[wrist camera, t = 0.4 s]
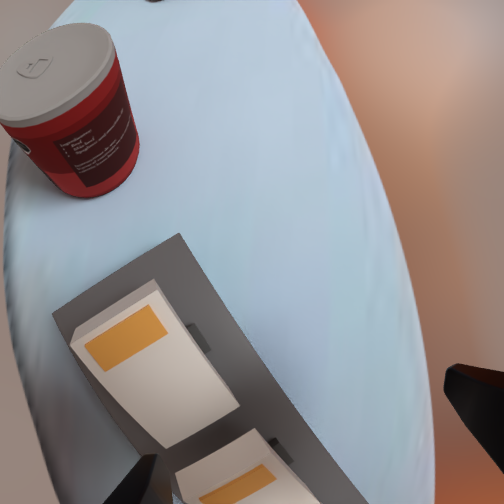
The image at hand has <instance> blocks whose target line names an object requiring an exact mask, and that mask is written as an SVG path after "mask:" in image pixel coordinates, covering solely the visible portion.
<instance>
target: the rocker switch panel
mask: <svg viewBox="0 0 504 504" xmlns="http://www.w3.org/2000/svg"><path fill="white" fill-rule="evenodd" d="M152 279H155V281H156V283H157V284H158V286H159V287H160V289H161V291H162V292H163V294H164V295H165V297H166V298H167V300H168V302H169V303H170V305H171V306H172V308H173V309H174V311H175V312H176V314H177V315H178V317H179V318H180V320H181V321H182V323H183V324H184V326H185V327H186V329H187V330H188V331H189V333H190V334H191V336H192V337H193V339H194V340H195V342H196V343H197V344H198V346H199V347H200V349H201V350H202V352H203V353H204V354H205V356H206V357H207V359H208V360H209V361H210V363H211V364H212V365H213V367H214V368H215V370H216V371H217V372H218V374H219V375H220V376H221V378H222V379H223V380H224V382H225V383H226V384H227V386H228V387H229V389H230V390H231V392H232V394H233V395H234V397H235V398H236V400H237V402H238V403H239V405H240V406H239V407H238V408H236V409H235V410H233V411H231V412H230V413H228V414H227V415H225V416H223V417H222V418H220V419H218V420H217V421H215V422H213V423H212V424H210V425H208V426H206V427H205V428H203V429H201V430H200V431H198V432H196V433H194V434H193V435H191V436H189V437H187V438H185V439H184V440H182V441H180V442H178V443H176V444H174V445H173V446H171V447H169V448H167V449H165V448H164V447H163V446H162V445H161V444H160V443H159V442H158V441H157V440H156V439H154V438H153V437H152V436H151V435H150V434H149V433H148V432H147V431H146V430H145V429H144V428H143V427H142V426H141V425H140V424H139V423H138V422H137V421H136V420H135V419H134V418H133V417H132V416H131V415H130V414H129V413H128V412H127V411H126V410H125V409H124V408H123V407H122V406H121V405H120V404H119V403H118V402H117V401H116V400H115V398H114V397H113V396H112V395H111V394H110V393H109V392H108V391H107V390H106V389H105V387H104V386H103V385H102V384H101V383H100V382H99V381H98V379H97V378H96V377H95V376H94V375H93V374H92V372H91V371H90V370H89V369H88V368H87V366H86V365H85V364H84V363H83V362H82V360H81V359H80V358H79V357H78V355H77V354H76V353H75V351H74V350H73V349H72V348H71V346H70V343H71V340H72V337H73V334H74V331H75V329H76V328H77V327H78V326H80V325H81V324H83V323H85V322H86V321H88V320H89V319H91V318H92V317H94V316H95V315H97V314H99V313H100V312H102V311H103V310H105V309H106V308H108V307H109V306H111V305H113V304H114V303H116V302H117V301H119V300H120V299H122V298H124V297H125V296H127V295H128V294H130V293H132V292H133V291H135V290H136V289H138V288H140V287H141V286H143V285H144V284H146V283H148V282H149V281H151V280H152ZM52 315H53V317H54V320H55V322H56V324H57V326H58V328H59V330H60V332H61V333H62V335H63V337H64V339H65V341H66V343H67V345H68V347H69V349H70V350H71V352H72V354H73V356H74V358H75V359H76V361H77V363H78V365H79V366H80V368H81V370H82V371H83V373H84V375H85V377H86V378H87V380H88V381H89V383H90V385H91V386H92V388H93V389H94V391H95V393H96V394H97V396H98V397H99V399H100V400H101V402H102V403H103V405H104V406H105V408H106V409H107V411H108V412H109V414H110V415H111V416H112V418H113V419H114V421H115V422H116V424H117V425H118V426H119V428H120V429H121V430H122V432H123V433H124V434H125V436H126V437H127V438H128V440H129V441H130V442H131V444H132V445H133V446H134V448H135V449H136V450H137V451H138V453H139V454H140V455H141V456H143V455H144V454H146V453H158V454H159V455H160V456H161V458H162V460H163V461H164V463H165V465H166V466H167V468H168V470H169V473H170V479H171V490H172V492H173V493H174V494H175V495H176V496H177V497H178V498H179V499H180V500H181V501H182V502H183V503H184V504H188V503H186V502H184V501H183V498H182V495H181V492H180V489H179V485H178V482H177V479H176V475H175V473H176V472H178V471H180V470H182V469H184V468H186V467H188V466H190V465H192V464H194V463H195V462H197V461H199V460H201V459H203V458H205V457H207V456H208V455H210V454H212V453H214V452H215V451H217V450H219V449H221V448H222V447H224V446H226V445H228V444H229V443H231V442H233V441H234V440H236V439H238V438H239V437H241V436H243V435H244V434H246V433H247V432H249V431H251V430H252V429H254V428H255V429H256V430H257V431H258V432H259V434H260V435H261V436H262V437H263V438H264V439H265V441H266V442H267V443H268V444H269V445H270V446H271V448H272V449H273V450H274V451H275V452H276V453H277V454H278V455H279V457H280V458H281V459H282V460H283V461H284V462H285V463H286V464H287V465H288V466H289V468H290V469H291V470H292V471H293V472H294V473H295V474H296V475H297V476H298V477H299V478H300V479H301V480H302V481H303V482H304V483H305V485H306V486H307V487H308V488H309V490H310V491H311V492H312V493H313V495H314V496H315V497H316V499H317V500H318V501H319V502H322V504H369V503H368V502H367V501H366V500H365V498H364V497H363V496H362V495H361V494H360V492H359V491H358V490H357V489H356V487H355V486H354V485H353V484H352V482H351V481H350V480H349V478H348V477H347V476H346V475H345V473H344V472H343V471H342V470H341V468H340V467H339V466H338V464H337V463H336V462H335V460H334V459H333V458H332V457H331V455H330V454H329V453H328V451H327V450H326V449H325V447H324V446H323V445H322V443H321V442H320V441H319V439H318V438H317V437H316V435H315V434H314V433H313V431H312V430H311V429H310V427H309V426H308V425H307V423H306V422H305V421H304V419H303V418H302V416H301V415H300V414H299V412H298V411H297V410H296V408H295V407H294V405H293V404H292V403H291V401H290V400H289V398H288V397H287V396H286V394H285V393H284V391H283V390H282V389H281V387H280V386H279V384H278V383H277V381H276V380H275V379H274V377H273V376H272V374H271V373H270V371H269V370H268V369H267V367H266V366H265V364H264V363H263V361H262V360H261V358H260V357H259V355H258V354H257V353H256V351H255V350H254V348H253V347H252V345H251V344H250V342H249V341H248V339H247V338H246V336H245V335H244V333H243V332H242V330H241V329H240V327H239V326H238V324H237V323H236V321H235V320H234V318H233V317H232V315H231V314H230V312H229V311H228V309H227V308H226V306H225V304H224V303H223V301H222V300H221V298H220V297H219V295H218V294H217V292H216V291H215V289H214V287H213V286H212V284H211V283H210V281H209V280H208V278H207V276H206V275H205V273H204V272H203V270H202V268H201V267H200V265H199V264H198V262H197V260H196V259H195V257H194V256H193V254H192V252H191V251H190V249H189V248H188V246H187V244H186V243H185V241H184V239H183V238H182V236H181V234H180V233H178V234H176V235H174V236H172V237H171V238H169V239H167V240H166V241H164V242H163V243H161V244H159V245H158V246H156V247H154V248H153V249H151V250H149V251H148V252H146V253H144V254H143V255H141V256H140V257H138V258H136V259H135V260H133V261H132V262H130V263H128V264H127V265H125V266H124V267H122V268H120V269H119V270H117V271H116V272H114V273H113V274H111V275H109V276H108V277H106V278H105V279H103V280H102V281H100V282H99V283H97V284H96V285H94V286H92V287H91V288H89V289H88V290H86V291H85V292H83V293H82V294H80V295H79V296H77V297H76V298H74V299H73V300H71V301H70V302H68V303H67V304H65V305H64V306H62V307H61V308H59V309H58V310H56V311H55V312H54V313H52Z"/></svg>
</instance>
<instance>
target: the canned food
mask: <svg viewBox="0 0 504 504" xmlns="http://www.w3.org/2000/svg"><path fill="white" fill-rule="evenodd" d="M0 124H1V125H2V126H3V128H4V129H5V130H6V132H7V133H8V134H9V135H10V136H11V137H12V139H13V140H14V141H15V142H16V143H17V144H18V145H19V147H20V148H21V149H22V150H23V151H24V152H25V153H26V154H27V155H28V157H29V158H30V159H31V160H32V161H33V162H34V163H35V164H36V165H37V166H38V167H39V168H40V170H41V171H42V172H43V173H44V174H45V175H46V176H47V177H48V178H49V179H50V180H51V181H52V182H53V183H54V184H55V185H56V186H57V187H58V188H59V189H60V190H62V191H63V192H65V193H67V194H70V195H73V196H77V197H83V198H89V197H96V196H100V195H103V194H106V193H108V192H110V191H112V190H113V189H115V188H117V187H118V186H119V185H120V184H122V183H123V182H124V181H125V180H126V179H127V177H128V176H129V175H130V174H131V172H132V170H133V168H134V166H135V164H136V161H137V158H138V154H139V145H140V143H139V136H138V133H137V129H136V126H135V122H134V118H133V115H132V111H131V107H130V104H129V100H128V96H127V92H126V88H125V84H124V80H123V76H122V72H121V68H120V64H119V60H118V57H117V53H116V49H115V46H114V43H113V41H112V39H111V36H110V34H109V33H108V32H107V31H106V30H105V29H104V28H102V27H100V26H98V25H94V24H90V23H74V24H67V25H63V26H59V27H56V28H53V29H51V30H48V31H46V32H44V33H42V34H40V35H38V36H36V37H34V38H33V39H31V40H30V41H28V42H27V43H25V44H24V45H23V46H21V47H20V48H19V49H18V50H17V51H15V52H14V53H13V54H12V55H11V56H10V57H9V58H8V59H7V61H6V62H5V63H4V64H3V65H2V67H1V68H0Z"/></svg>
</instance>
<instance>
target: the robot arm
mask: <svg viewBox="0 0 504 504" xmlns="http://www.w3.org/2000/svg"><path fill="white" fill-rule="evenodd" d="M444 393H445V395H446V396H447V398H448V399H449V401H450V403H451V404H452V406H453V407H454V409H455V410H456V412H457V413H458V415H459V416H460V418H461V420H462V421H463V422H464V424H465V426H466V427H467V428H468V429H469V431H470V432H471V433H472V434H473V436H474V437H475V438H476V439H477V441H478V442H479V443H480V444H481V446H482V447H483V448H484V449H485V451H486V452H487V453H488V455H489V456H490V457H491V458H492V460H493V461H494V462H495V463H496V465H497V466H498V467H499V469H500V470H501V471H502V472H503V474H504V372H501V371H496V370H490V369H485V368H479V367H474V366H469V365H464V364H459V363H458V364H454V365H452V366H450V367H448V368H447V370H446V373H445V381H444ZM103 504H173V500H172V490H171V479H170V473H169V470H168V468H167V466H166V465H165V463H164V461H163V460H162V458H161V456H160V455H159V454H158V453H146V454H144V455H143V456H142V457H141V458H140V460H139V461H138V462H137V463H136V464H135V466H134V467H133V468H132V469H131V471H130V472H129V473H128V474H127V475H126V477H125V478H124V479H123V480H122V481H121V483H120V484H119V485H118V486H117V487H116V489H115V490H114V491H113V492H112V493H111V494H110V496H109V497H108V498H107V499H106V500H105V501H104V503H103Z"/></svg>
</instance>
